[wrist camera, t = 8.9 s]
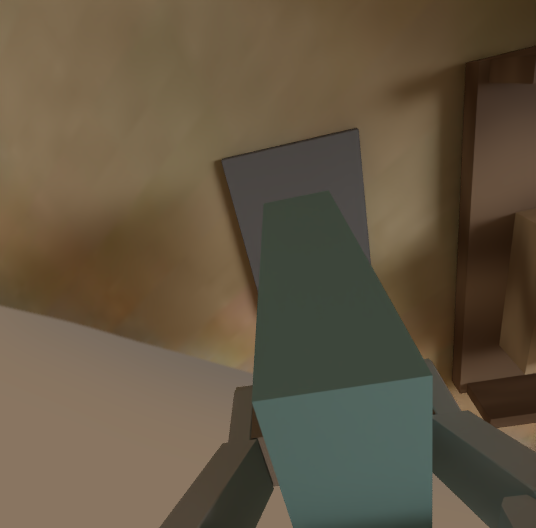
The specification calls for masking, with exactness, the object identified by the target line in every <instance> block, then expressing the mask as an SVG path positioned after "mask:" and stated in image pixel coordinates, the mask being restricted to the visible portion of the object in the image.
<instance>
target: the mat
mask: <svg viewBox="0 0 536 528" xmlns="http://www.w3.org/2000/svg"><path fill="white" fill-rule="evenodd" d="M221 161H222V165H223V169H224V172H225V176H226V179H227V183H228V186H229V190H230V194H231V197H232V201H233V204H234V208H235V212H236V215H237V219H238V222H239V226H240V230H241V233H242V237H243V240H244V244H245V247H246V251H247V255H248V258H249V262H250V265H251V269H252V273H253V276H254V280H255V283H256V287H257V291H258V289H259V272H260V256H261V239H262V222H263V206H264V203H269V202H274V201H279V200H283V199H288V198H293V197H298V196H303V195H308V194H313V193H318V192H322V191H327V190H329V192H330V193H331V195H332V197H333V199H334V201H335V202H336V204H337V206H338V208H339V210H340V211H341V213H342V215H343V217H344V218H345V220H346V222H347V224H348V226H349V227H350V229H351V231H352V233H353V234H354V236H355V238H356V240H357V242H358V243H359V245H360V247H361V249H362V250H363V252H364V254H365V256H366V258H367V259H368V261H369V263H370V265H371V261H370V250H369V239H368V228H367V217H366V206H365V195H364V184H363V173H362V162H361V151H360V141H359V130H358V129H357V128H354V129H350V130H345V131H341V132H337V133H332V134H328V135H324V136H319V137H315V138H311V139H306V140H302V141H298V142H293V143H289V144H285V145H280V146H276V147H271V148H267V149H263V150H258V151H254V152H250V153H245V154H241V155H237V156H232V157H228V158H224V159H222V160H221Z"/></svg>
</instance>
